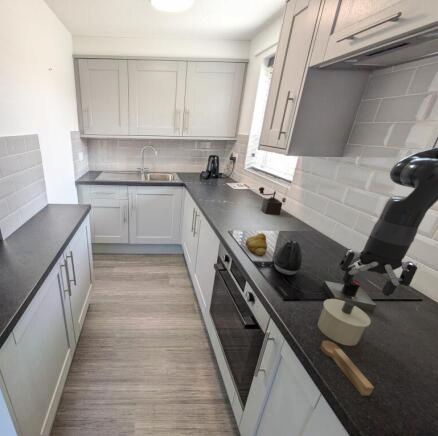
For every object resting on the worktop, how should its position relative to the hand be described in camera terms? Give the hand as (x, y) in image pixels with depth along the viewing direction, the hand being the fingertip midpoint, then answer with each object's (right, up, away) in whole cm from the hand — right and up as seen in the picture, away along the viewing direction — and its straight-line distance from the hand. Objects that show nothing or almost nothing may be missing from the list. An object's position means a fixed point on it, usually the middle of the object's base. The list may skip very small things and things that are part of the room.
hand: (365, 288), depth 65 cm
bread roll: (-6, +3, +53) cm, 54 cm away
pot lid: (-2, -8, +4) cm, 9 cm away
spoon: (-10, -20, -5) cm, 23 cm away
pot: (-3, -15, +6) cm, 17 cm away
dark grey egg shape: (-1, -4, +36) cm, 36 cm away
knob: (+13, -7, +20) cm, 24 cm away
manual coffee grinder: (+29, +25, +111) cm, 117 cm away
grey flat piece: (+12, -10, +21) cm, 26 cm away
